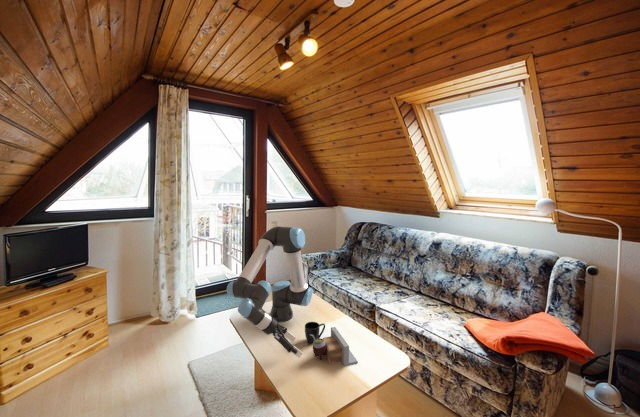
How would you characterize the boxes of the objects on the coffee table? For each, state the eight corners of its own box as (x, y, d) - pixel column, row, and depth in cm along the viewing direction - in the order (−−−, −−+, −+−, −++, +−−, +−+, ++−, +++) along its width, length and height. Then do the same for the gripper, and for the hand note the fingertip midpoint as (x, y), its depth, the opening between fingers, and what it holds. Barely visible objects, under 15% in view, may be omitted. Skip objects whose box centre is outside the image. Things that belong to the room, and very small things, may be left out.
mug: (327, 342, 161) (327, 326, 160) (307, 346, 157) (307, 330, 156) (322, 334, 169) (322, 319, 168) (302, 338, 165) (302, 323, 163)
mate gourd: (327, 350, 151) (323, 324, 148) (328, 360, 143) (324, 332, 141) (312, 352, 150) (309, 326, 148) (313, 362, 143) (309, 334, 140)
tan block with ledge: (322, 350, 154) (322, 338, 153) (333, 348, 156) (333, 336, 155) (329, 364, 142) (329, 350, 142) (341, 361, 144) (341, 348, 144)
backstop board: (330, 344, 159) (330, 327, 158) (342, 342, 161) (343, 325, 160) (344, 366, 141) (344, 346, 140) (357, 363, 143) (357, 344, 142)
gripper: (257, 317, 147) (286, 339, 154) (264, 343, 124) (298, 369, 130) (268, 305, 148) (296, 328, 155) (276, 330, 125) (309, 355, 131)
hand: (297, 347), depth 143 cm, fingers open, 13 cm apart
